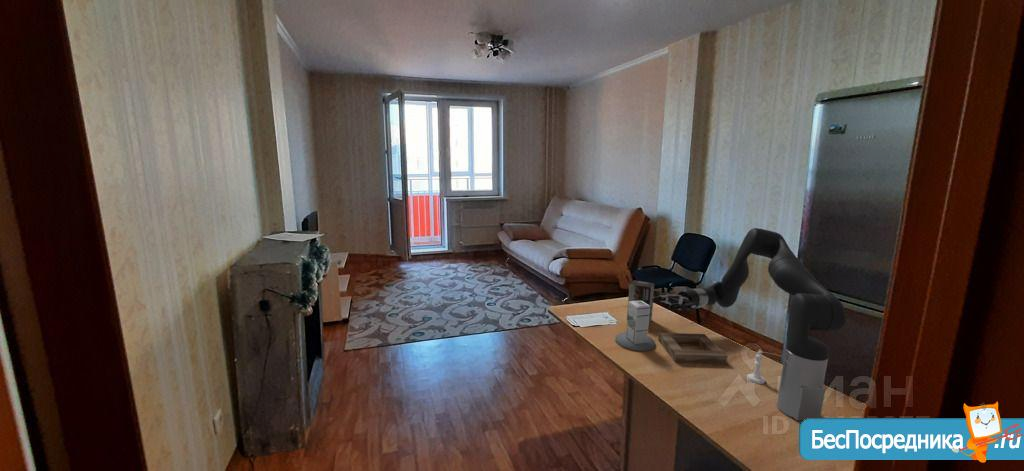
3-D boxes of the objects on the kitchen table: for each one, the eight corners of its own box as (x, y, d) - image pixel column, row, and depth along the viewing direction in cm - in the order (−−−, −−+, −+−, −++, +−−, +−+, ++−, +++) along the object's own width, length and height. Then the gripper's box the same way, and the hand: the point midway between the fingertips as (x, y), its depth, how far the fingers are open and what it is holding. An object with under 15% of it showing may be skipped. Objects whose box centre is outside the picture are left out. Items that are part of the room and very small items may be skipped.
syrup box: (647, 342, 149) (651, 305, 147) (633, 344, 148) (636, 306, 145) (639, 336, 155) (642, 299, 152) (625, 337, 153) (628, 300, 150)
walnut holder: (726, 363, 137) (727, 355, 137) (675, 362, 137) (676, 354, 137) (703, 341, 154) (704, 334, 153) (658, 340, 154) (658, 332, 154)
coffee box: (652, 319, 174) (655, 283, 171) (648, 324, 168) (651, 287, 165) (630, 315, 178) (633, 279, 175) (626, 319, 173) (629, 283, 170)
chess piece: (743, 377, 129) (747, 347, 127) (753, 374, 131) (758, 345, 129) (757, 385, 125) (762, 354, 123) (768, 382, 127) (773, 352, 125)
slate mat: (660, 351, 145) (660, 349, 145) (620, 350, 145) (620, 348, 145) (647, 334, 159) (648, 332, 158) (611, 333, 159) (611, 331, 159)
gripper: (679, 284, 166) (648, 288, 159) (709, 295, 153) (676, 299, 146) (677, 302, 167) (646, 307, 160) (706, 314, 154) (674, 319, 148)
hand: (661, 303), depth 153 cm, fingers open, 8 cm apart
